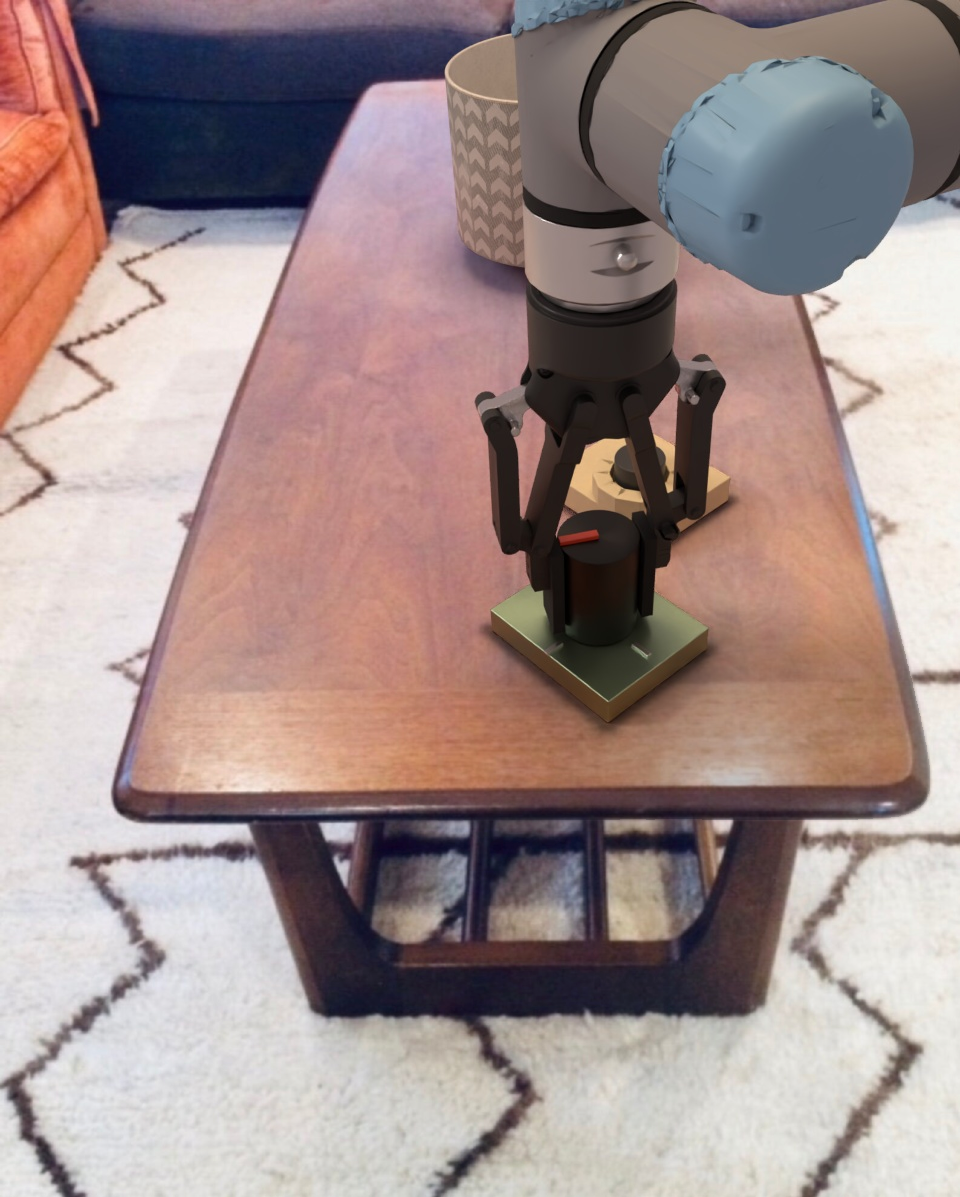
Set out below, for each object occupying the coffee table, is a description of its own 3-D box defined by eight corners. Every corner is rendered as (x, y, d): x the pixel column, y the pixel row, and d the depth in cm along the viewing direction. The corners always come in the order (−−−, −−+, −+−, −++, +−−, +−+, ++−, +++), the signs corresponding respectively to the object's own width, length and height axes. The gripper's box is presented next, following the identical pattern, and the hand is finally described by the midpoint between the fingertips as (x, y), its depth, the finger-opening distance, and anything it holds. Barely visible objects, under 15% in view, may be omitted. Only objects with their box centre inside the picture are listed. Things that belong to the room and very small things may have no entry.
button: (675, 476, 78) (676, 457, 77) (639, 499, 77) (640, 479, 75) (638, 455, 80) (639, 435, 79) (603, 476, 79) (603, 457, 78)
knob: (623, 584, 73) (626, 499, 68) (646, 637, 69) (651, 551, 64) (550, 598, 72) (548, 513, 67) (570, 652, 69) (569, 567, 64)
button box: (728, 500, 82) (733, 457, 79) (641, 558, 78) (643, 515, 75) (631, 444, 87) (632, 401, 85) (545, 495, 83) (544, 453, 81)
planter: (469, 307, 104) (452, 112, 92) (453, 219, 118) (437, 39, 106) (666, 285, 105) (677, 88, 92) (628, 200, 119) (633, 19, 106)
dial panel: (708, 648, 71) (710, 625, 70) (606, 724, 67) (607, 701, 66) (589, 566, 77) (589, 543, 76) (490, 631, 73) (488, 608, 72)
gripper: (434, 345, 51) (471, 680, 67) (805, 284, 52) (753, 624, 69) (409, 271, 56) (449, 597, 72) (747, 217, 58) (711, 547, 74)
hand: (597, 609), depth 70 cm, fingers closed on knob, 5 cm apart
